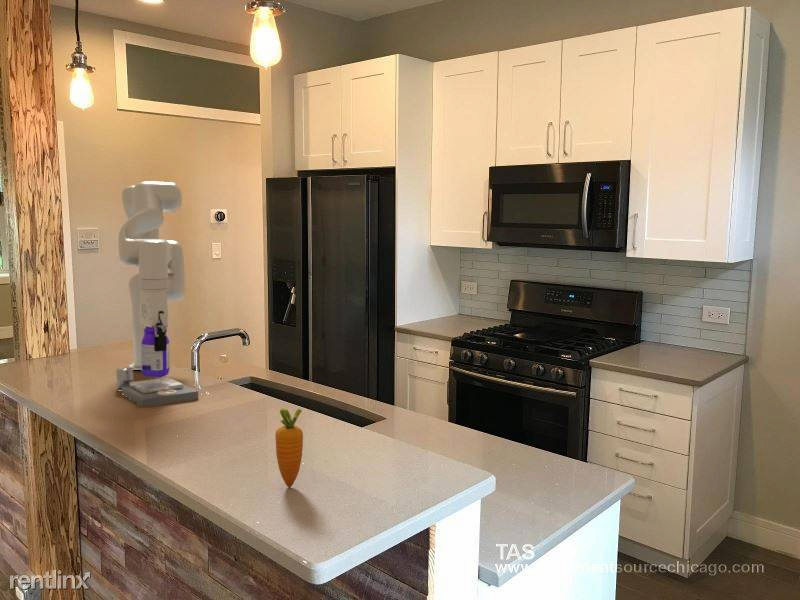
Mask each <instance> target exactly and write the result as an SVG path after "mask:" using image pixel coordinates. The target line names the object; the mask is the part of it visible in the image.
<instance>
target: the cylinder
mask: <svg viewBox="0 0 800 600" xmlns="http://www.w3.org/2000/svg"><path fill="white" fill-rule="evenodd" d="M115 373H116V374H115V375H116V378H115V379H116V390H117V389H118V390H122V387H126V386H130V382H134V372H133V369H132V368H129V366H127V367H119V368H117V369H116V370H115Z"/></svg>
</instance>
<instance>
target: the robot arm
mask: <svg viewBox="0 0 800 600" xmlns="http://www.w3.org/2000/svg"><path fill="white" fill-rule="evenodd" d="M121 202H122V207H123V210H124V212H125V215H126V218H127V220H126V221H125V222H124V223H123V224H122V226H121V227H120V229H119V232H118V238H117V239H118V240H117V241H118V244H117V245H118V255H119V256H118V257H119V260H120V262H121V263H123V264H124V265H126V266H135V267H136V268H138V273H136V274H134V275H132V276H131V277H130V278H129V280H128V291H129V296H130V303H131V313H132V314H131V315H132V339H133V340H132V341H133V343H132V344H133V363H130V364H129V365H128V368H132V369H133V370H141V371H140V372H142V339H143V337H144V335H145V331H144V329H145V328H146V326H147V327H150V328H152V327H153V326H154V331H155V336H156V337H154V351H156V352H157V351H166V350H167V343H166V336H167V335H168V334H167V332H168V330H167V329H168V324H169V309H168V308H169V307H168V302H180V301H182V300H183V298H185V295H186V278H185V256H184V250H183V247H182V244H181V243H180V242H178V241H177V240H167V239H165V238H160V228H161V227H162V225H163V223H164V221H165V220H164V219H165V218H164V217H165V216H164V213H176V212H177V211H179V210H180V209H181V207H182V203H183V195H182V191H181V188H180V187H179V185H178V184H177V183H175V182H168V181H167V182H164V181H141V182H138V183H136V184H135V185H130V186H125V188H123V189H122V191H121ZM156 324H161V325H156ZM158 329H159V331H158ZM167 337H168V336H167Z"/></svg>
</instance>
